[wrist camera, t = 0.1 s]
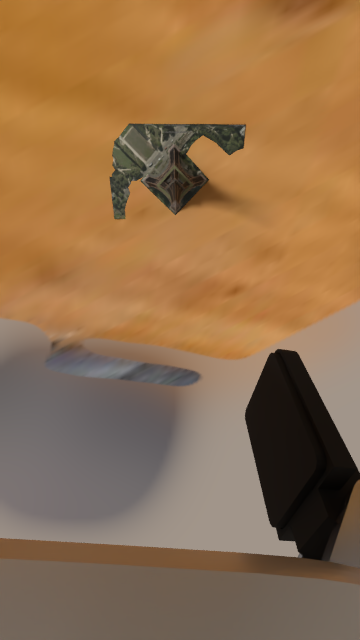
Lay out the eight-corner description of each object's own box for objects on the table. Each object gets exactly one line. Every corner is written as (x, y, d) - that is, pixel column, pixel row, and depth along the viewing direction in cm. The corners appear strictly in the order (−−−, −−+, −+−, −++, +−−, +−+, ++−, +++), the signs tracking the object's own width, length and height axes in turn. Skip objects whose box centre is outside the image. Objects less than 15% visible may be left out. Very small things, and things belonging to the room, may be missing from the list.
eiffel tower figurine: (247, 121, 34) (284, 127, 22) (238, 219, 39) (264, 262, 28) (104, 123, 33) (69, 128, 22) (115, 220, 39) (92, 264, 28)
